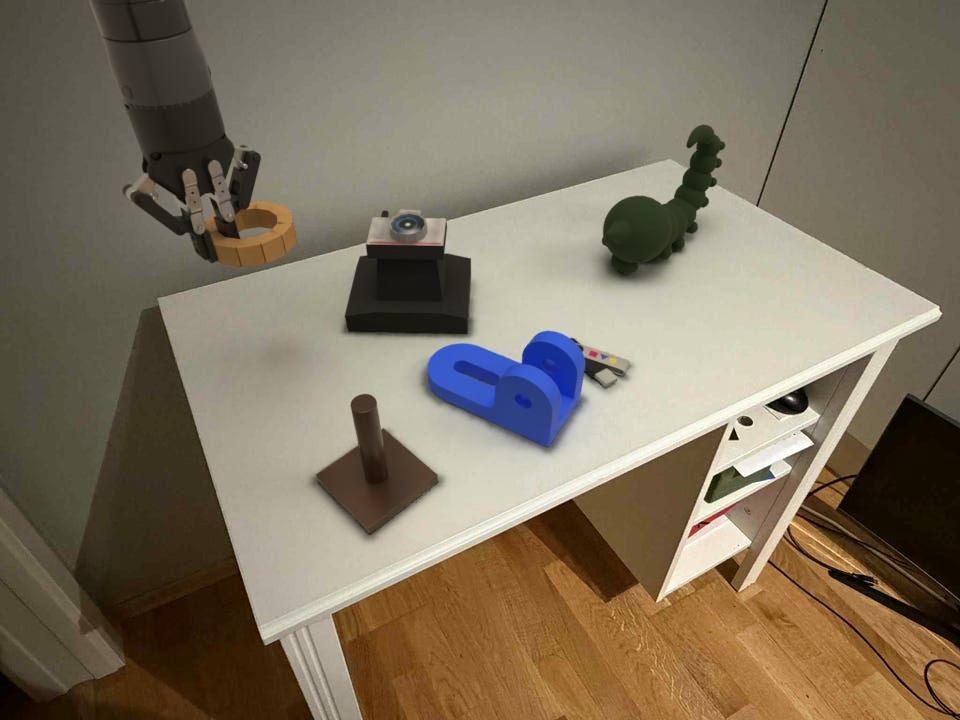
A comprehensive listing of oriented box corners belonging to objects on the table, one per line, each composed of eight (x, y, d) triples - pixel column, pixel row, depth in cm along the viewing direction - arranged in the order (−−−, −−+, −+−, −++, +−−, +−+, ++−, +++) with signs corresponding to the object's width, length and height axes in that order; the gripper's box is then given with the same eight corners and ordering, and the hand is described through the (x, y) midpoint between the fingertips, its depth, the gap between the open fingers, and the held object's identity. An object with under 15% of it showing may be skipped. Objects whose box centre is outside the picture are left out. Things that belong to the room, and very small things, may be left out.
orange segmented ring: (236, 277, 64) (230, 257, 63) (192, 242, 69) (186, 223, 67) (313, 242, 69) (309, 222, 67) (267, 211, 74) (262, 193, 72)
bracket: (579, 400, 75) (588, 344, 69) (548, 447, 70) (555, 391, 64) (452, 347, 82) (450, 291, 76) (414, 386, 77) (409, 330, 71)
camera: (329, 252, 74) (350, 179, 84) (349, 336, 85) (365, 263, 95) (465, 254, 74) (470, 180, 84) (467, 338, 85) (472, 265, 95)
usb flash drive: (558, 348, 82) (559, 342, 81) (590, 333, 84) (591, 328, 83) (603, 389, 77) (604, 383, 76) (635, 372, 79) (637, 366, 78)
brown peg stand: (370, 535, 62) (353, 458, 54) (317, 481, 67) (294, 402, 59) (438, 481, 67) (432, 403, 59) (384, 434, 72) (372, 355, 63)
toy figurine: (662, 223, 107) (569, 273, 93) (694, 108, 95) (592, 146, 81) (712, 245, 102) (622, 301, 88) (752, 127, 90) (655, 171, 76)
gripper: (217, 57, 61) (259, 218, 72) (67, 95, 53) (141, 267, 65) (259, 76, 57) (297, 243, 69) (104, 120, 50) (175, 298, 61)
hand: (220, 254), depth 67 cm, fingers closed on orange segmented ring, 1 cm apart
